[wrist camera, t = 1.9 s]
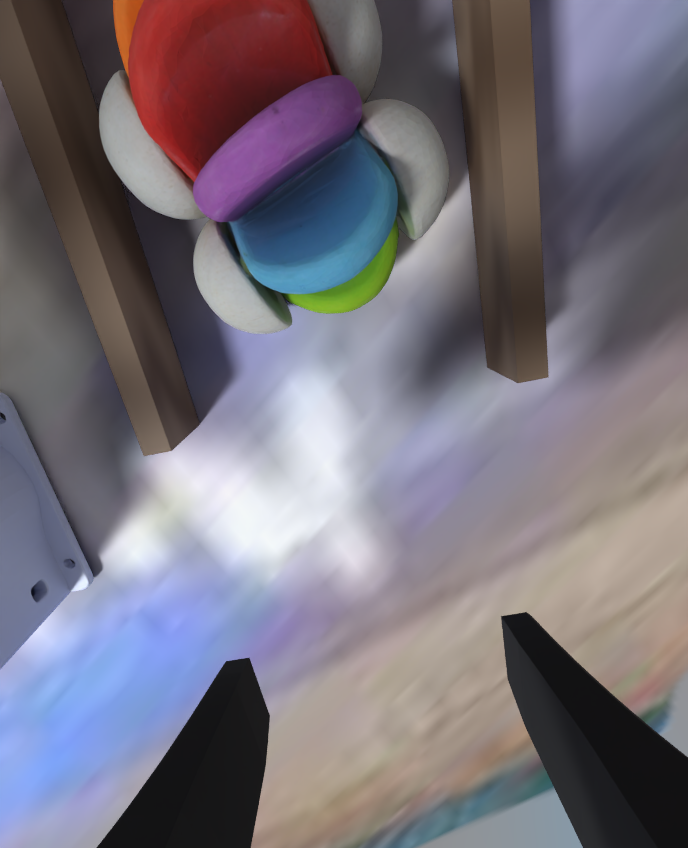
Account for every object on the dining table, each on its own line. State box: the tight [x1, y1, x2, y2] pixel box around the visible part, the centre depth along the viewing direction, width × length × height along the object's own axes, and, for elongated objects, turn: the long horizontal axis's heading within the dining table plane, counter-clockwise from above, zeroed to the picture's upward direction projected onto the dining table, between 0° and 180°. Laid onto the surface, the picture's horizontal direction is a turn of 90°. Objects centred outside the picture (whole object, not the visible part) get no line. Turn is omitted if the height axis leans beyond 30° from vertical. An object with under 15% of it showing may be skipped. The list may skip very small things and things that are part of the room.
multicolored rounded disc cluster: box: [99, 0, 449, 334], centre depth 11 cm, size 8×10×7 cm
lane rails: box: [0, 0, 548, 456], centre depth 13 cm, size 17×14×3 cm
